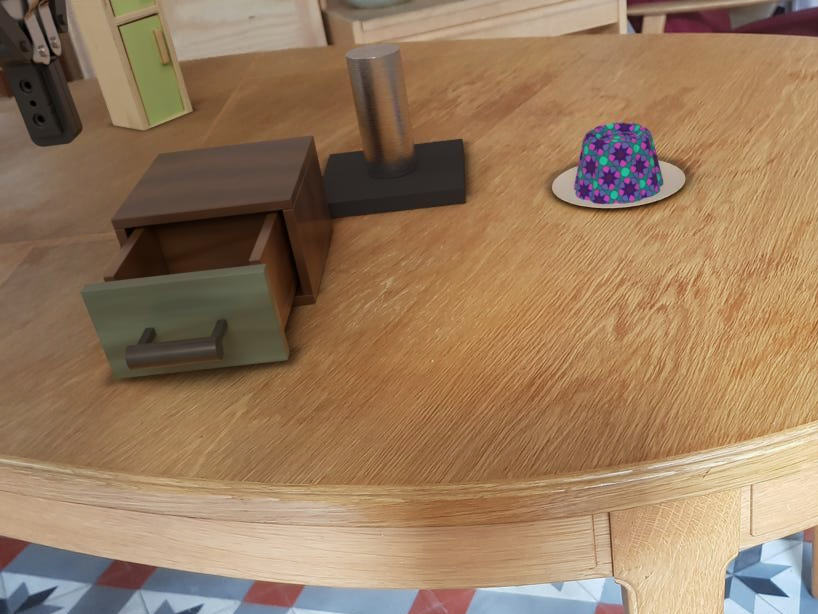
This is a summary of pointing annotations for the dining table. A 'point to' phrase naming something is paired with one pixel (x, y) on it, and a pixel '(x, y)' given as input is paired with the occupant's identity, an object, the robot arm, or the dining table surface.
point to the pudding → (618, 170)
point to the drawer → (196, 296)
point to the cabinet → (240, 196)
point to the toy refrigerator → (133, 60)
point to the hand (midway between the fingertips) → (59, 140)
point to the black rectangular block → (396, 182)
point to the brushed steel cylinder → (382, 110)
